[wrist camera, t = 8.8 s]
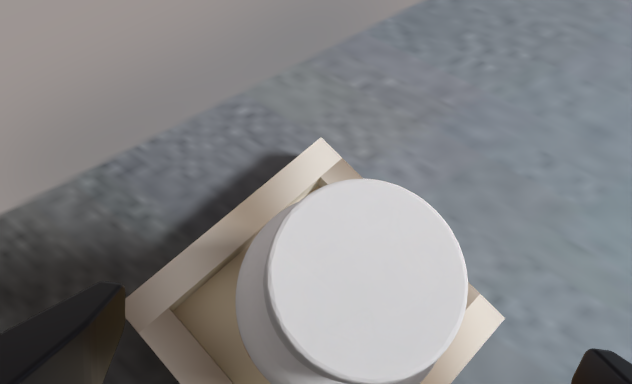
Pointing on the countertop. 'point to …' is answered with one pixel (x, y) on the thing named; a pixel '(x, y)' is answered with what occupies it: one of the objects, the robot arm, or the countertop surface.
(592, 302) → the countertop surface
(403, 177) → the countertop surface
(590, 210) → the countertop surface
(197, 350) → the recess plate
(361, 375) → the supplement bottle
